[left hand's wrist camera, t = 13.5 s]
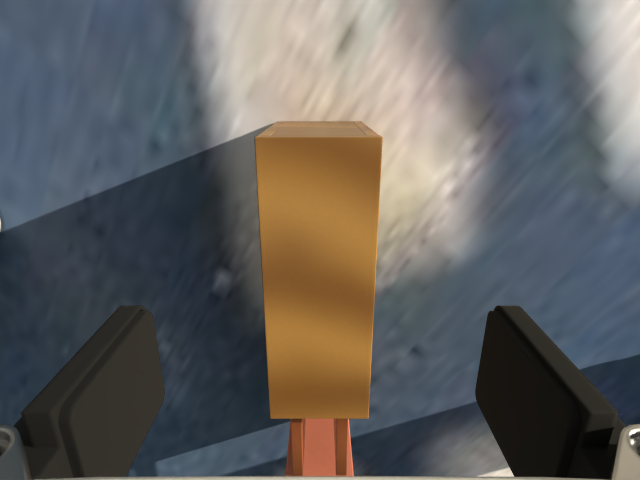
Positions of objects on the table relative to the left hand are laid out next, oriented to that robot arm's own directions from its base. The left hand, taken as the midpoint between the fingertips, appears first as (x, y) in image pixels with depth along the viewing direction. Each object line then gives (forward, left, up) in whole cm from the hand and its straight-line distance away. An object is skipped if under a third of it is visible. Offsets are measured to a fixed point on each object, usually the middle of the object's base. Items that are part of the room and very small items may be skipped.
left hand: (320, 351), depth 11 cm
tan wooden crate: (0, +4, -22) cm, 23 cm away
